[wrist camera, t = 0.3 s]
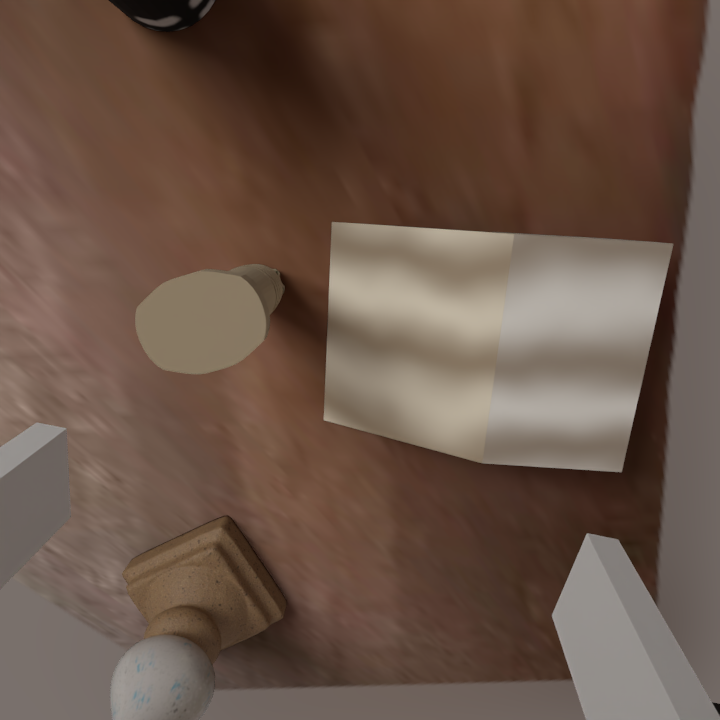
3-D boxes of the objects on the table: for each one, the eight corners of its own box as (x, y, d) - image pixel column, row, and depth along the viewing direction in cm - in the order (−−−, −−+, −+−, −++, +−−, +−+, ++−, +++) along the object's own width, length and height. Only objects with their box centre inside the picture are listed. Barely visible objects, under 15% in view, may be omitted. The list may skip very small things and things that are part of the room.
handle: (313, 302, 39) (278, 352, 24) (236, 325, 39) (158, 386, 25) (294, 242, 38) (245, 256, 23) (215, 266, 38) (120, 295, 24)
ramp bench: (333, 221, 39) (324, 222, 31) (615, 239, 39) (673, 243, 31) (325, 412, 43) (315, 452, 36) (578, 428, 43) (621, 472, 36)
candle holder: (192, 645, 48) (30, 1030, 25) (128, 559, 46) (-117, 901, 23) (289, 603, 47) (210, 975, 24) (228, 512, 44) (73, 830, 21)
